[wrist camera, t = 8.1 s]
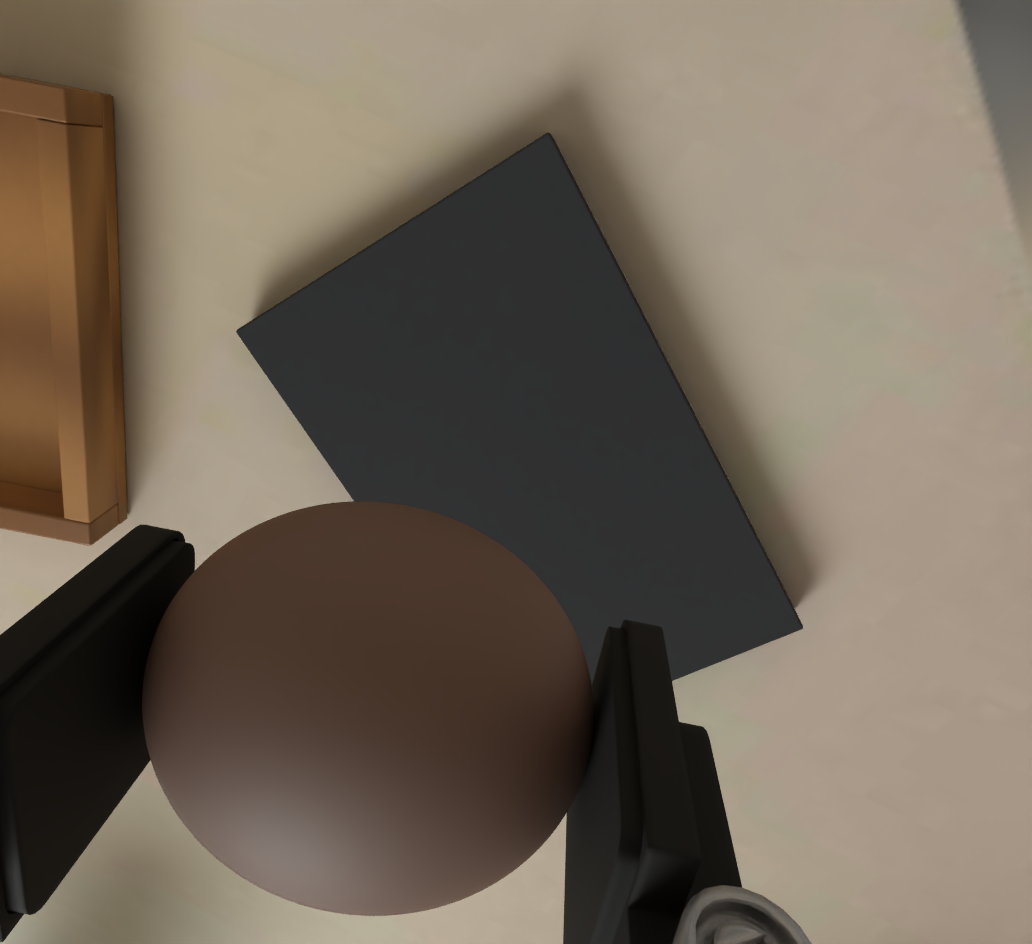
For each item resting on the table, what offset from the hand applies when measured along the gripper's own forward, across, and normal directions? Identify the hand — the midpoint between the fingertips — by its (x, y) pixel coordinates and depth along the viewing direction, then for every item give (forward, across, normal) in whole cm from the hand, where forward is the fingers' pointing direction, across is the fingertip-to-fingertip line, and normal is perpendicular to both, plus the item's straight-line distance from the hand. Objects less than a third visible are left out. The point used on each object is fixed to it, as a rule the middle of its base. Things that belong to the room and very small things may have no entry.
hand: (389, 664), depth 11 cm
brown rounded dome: (+1, 0, 0) cm, 1 cm away
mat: (+12, -2, +2) cm, 12 cm away
